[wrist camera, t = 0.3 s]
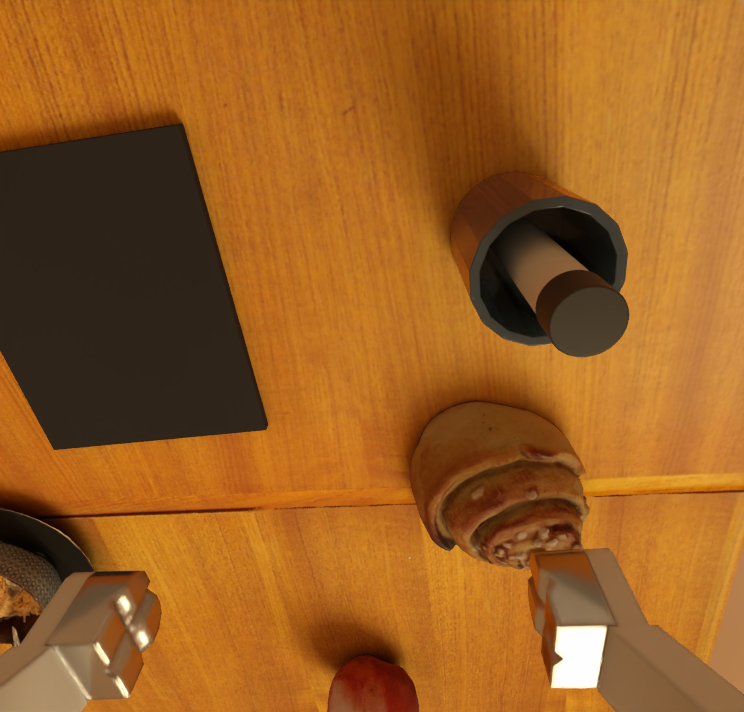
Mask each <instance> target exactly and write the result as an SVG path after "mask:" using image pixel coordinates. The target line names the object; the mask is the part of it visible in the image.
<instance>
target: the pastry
mask: <svg viewBox="0 0 744 712" xmlns="http://www.w3.org/2000/svg"><path fill="white" fill-rule="evenodd" d="M584 473H585V469H584V467H583V465H582V463H581V461H580V459H579V457H578V456H577V454H576V453H575V451H574V449H573V447H572V446H571V444H570V443H569V441H568V440H567V438H566V437H565V436H564V434H563V433H561V432H560V431H559V430H558V429H557V428H556V427H555V426H554V425H553V424H551V423H550V422H549V421H547V420H545V419H543V418H542V417H540V416H538V415H536V414H534V413H532V412H530V411H527V410H523V409H519V408H512V407H508V406H504V405H499V404H494V403H488V402H477V401H475V402H467V403H463V404H459V405H456V406H454V407H451V408H449V409H447V410H445V411H443V412H441V413H439V414H438V415H437V416H436V417H434V418H433V419H432V420H431V421H430V423H429V424H428V425H427V426H426V428H425V429H424V431H423V434H422V436H421V439H420V441H419V444H418V446H417V447H416V449H415V451H414V454H413V457H412V460H411V464H410V478H411V485H412V491H413V494H414V498H415V501H416V505H417V508H418V511H419V514H420V517H421V519H422V521H423V523H424V525H425V527H426V529H427V531H428V533H429V535H430V537H431V539H432V540H433V541H434V542H435V543H436V544H437V545H438V546H439V547H441V548H443V549H445V550H448V551H450V550H451V549H453V547H454V546H455V545H458V546H459V547H460V548H461V549H462V550H463V551H464V552H466V553H467V554H468V555H470V556H472V557H473V558H475V559H477V560H480V561H484V562H488V563H490V564H495V565H497V566H502V567H512V568H516V569H520V570H530V566H529V558H530V554H531V552H537V551H553V550H570V549H581V550H582V549H583V546H582V544H581V531H582V526H583V522H584V520H585V519H586V517H587V515H588V514H589V510H590V509H589V507H588V505H587V504H586V497H585V496H583V487H582V485H581V482H580V480H579V478H578V476H579V475H581V474H584Z"/></svg>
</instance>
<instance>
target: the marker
mask: <svg viewBox="0 0 744 712" xmlns="http://www.w3.org/2000/svg"><path fill="white" fill-rule="evenodd" d="M490 247H491V249H492V250H493V252H494V253H495V255H496V256H497V258H498V259H499V261H500V262H501V264H502V265H503V267H504V268H505V270H506V271H507V272H508V274H509V275H510V277H511V278H512V280H513V281H514V283H515V284H516V286H517V287H518V289H519V290H520V292H521V293H522V294H523V296H524V297H525V299H526V300H527V302H528V303H529V305H530V306H531V308H532V309H533V311H534V312H535V314H536V317H537V320H538V322H539V324H540V325H541V327H542V328H543V330H544V331H545V333H546V334H547V336H548V337H549V339H550V340H551V342H552V343H553V344H554V346H555V347H556V348H557V349H558V350H560V351H561V352H563V353H565V354H567V355H570V356H575V357H589V356H594V355H597V354H600V353H602V352H604V351H606V350H608V349H609V348H611V347H612V346H613V345H614V344H615V343H616V342H617V341H618V340H619V339H620V338H621V337H622V335H623V334H624V332H625V330H626V328H627V325H628V320H629V309H628V305H627V303H626V301H625V299H624V297H623V296H622V295H621V294H620V293H619V292H618V291H617V290H615V289H614V288H613V287H612V286H611V285H609V284H608V283H607V282H606V281H605V280H603V279H602V278H601V277H600V276H598V275H597V274H595V273H593V272H590V271H589V270H587V269H586V268H585V267H584V266H583V265H582V264H580V263H579V262H578V261H577V260H576V259H575V258H573V257H572V256H571V255H570V254H569V253H568V252H566V251H565V250H564V249H563V248H562V247H561V246H559V245H558V244H557V243H556V242H555V241H554V240H552V239H551V238H550V237H549V236H548V235H546V234H545V233H544V232H543V231H542V230H541V229H539V228H538V227H537V226H536V225H535V224H534V223H532V222H531V221H530V220H529V219H528V218H527V217H525V216H524V217H522V218H520V219H518V220H516V221H514V222H512V223H511V224H509V225H508V226H507V227H506V228H505V229H504V230H503V231H502V232H501V233H500V235H499V236H498V237H497V238H496V239H495V240H494V241H493V242H492V244H491V245H490Z"/></svg>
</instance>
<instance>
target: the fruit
mask: <svg viewBox="0 0 744 712" xmlns="http://www.w3.org/2000/svg"><path fill="white" fill-rule="evenodd" d="M327 712H419V704H418V698H417V695H416V690H415V686H414V683H413V681H412V680H411V678H410V677H409V676H408V674H407V673H406V672H405V670H404V669H403V668H401V667H400V666H397V665H394V664H391V663H388V662H385V661H382V660H380V659H378V658H375V657H374V656H371V655H363V656H358V657H356V658H354V659H352V660H351V661H349V662H348V663H347V664H345V665H344V666H342V667H341V668H340V669H339V671H338V672H337V673H336V675H335V677H334V679H333V681H332V684H331V687H330V691H329V698H328V710H327Z"/></svg>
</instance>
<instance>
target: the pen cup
mask: <svg viewBox="0 0 744 712" xmlns="http://www.w3.org/2000/svg"><path fill="white" fill-rule="evenodd" d="M524 216H525V217H527V218H528V219H529V220H530V221H531V222H532V223H534V224H535V225H536V226H537V227H538V228H539V229H541V230H542V231H543V232H544V233H545V234H546V235H548V236H549V237H550V238H551V239H552V240H554V241H555V242H556V243H557V244H558V245H559V246H561V247H562V248H563V249H564V250H565V251H566V252H568V253H569V254H570V255H571V256H572V257H573V258H575V259H576V260H577V261H578V262H579V263H580V264H582V265H583V266H584V267H585V268H586V269H587V270H589V271H590V272H593V273H595V274H597V275H598V276H600V277H601V278H602V279H603V280H605V281H606V282H607V283H608V284H609V285H611V286H612V287H613V288H614V289H615V290H617V291H618V292H620V290H621V288H622V286H623V284H624V281H625V276H626V266H627V256H628V251H627V248H626V245H625V242H624V239H623V236H622V234H621V231H620V228H619V225H618V224H617V223H616V222H615V221H614V220H613V219H612V218H611V217H610V216H609V215H608V214H607V213H605V212H604V211H603V210H602V209H601V208H600V207H599V206H598V205H596V204H595V203H593V202H591V201H589V200H587V199H585V198H583V197H581V196H579V195H577V194H575V193H573V192H571V191H569V190H567V189H565V188H563V187H561V186H559V185H557V184H555V183H553V182H551V181H549V180H547V179H545V178H542V177H538V176H535V175H533V174H529V173H524V172H506V173H502V174H498V175H495V176H492V177H490V178H488V179H486V180H484V181H482V182H481V183H479V184H478V185H476V186H475V187H474V188H473V189H472V190H471V191H470V192H469V193H468V194H467V195H466V196H465V197H464V199H463V200H462V201H461V203H460V204H459V206H458V208H457V210H456V212H455V215H454V217H453V221H452V224H451V231H450V242H451V248H452V255H453V257H454V260H455V262H456V264H457V267H458V269H459V272H460V274H461V277H462V279H463V282H464V284H465V287H466V289H467V292H468V294H469V297H470V299H471V301H472V303H473V305H474V307H475V309H476V311H477V313H478V315H479V317H480V319H481V321H482V322H483V323H484V324H485V325H486V326H487V327H489V328H490V329H491V330H493V331H494V332H495V333H496V334H498V335H499V336H500V337H502V338H503V339H505V340H509V341H513V342H517V343H521V344H525V345H529V346H536V345H546V344H553V343H552V342H551V340H550V339H549V337H548V336H547V334H546V333H545V331H544V330H543V328H542V327H541V325H540V324H539V322H538V320H537V317H536V314H535V312H534V311H533V309H532V308H531V306H530V305H529V303H528V302H527V300H526V299H525V297H524V296H523V294H522V293H521V292H520V290H519V289H518V287H517V286H516V284H515V283H514V281H513V280H512V278H511V277H510V275H509V274H508V272H507V271H506V270H505V268H504V267H503V265H502V264H501V262H500V261H499V259H498V258H497V256H496V255H495V253H494V252H493V250H492V249H491V247H490V245H491V244H492V242H493V241H494V240H495V239H496V238H497V237H498V236H499V235H500V233H501V232H502V231H503V230H504V229H505V228H506V227H507V226H508V225H509V224H511V223H512V222H514V221H516V220H518V219H520V218H522V217H524Z"/></svg>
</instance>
